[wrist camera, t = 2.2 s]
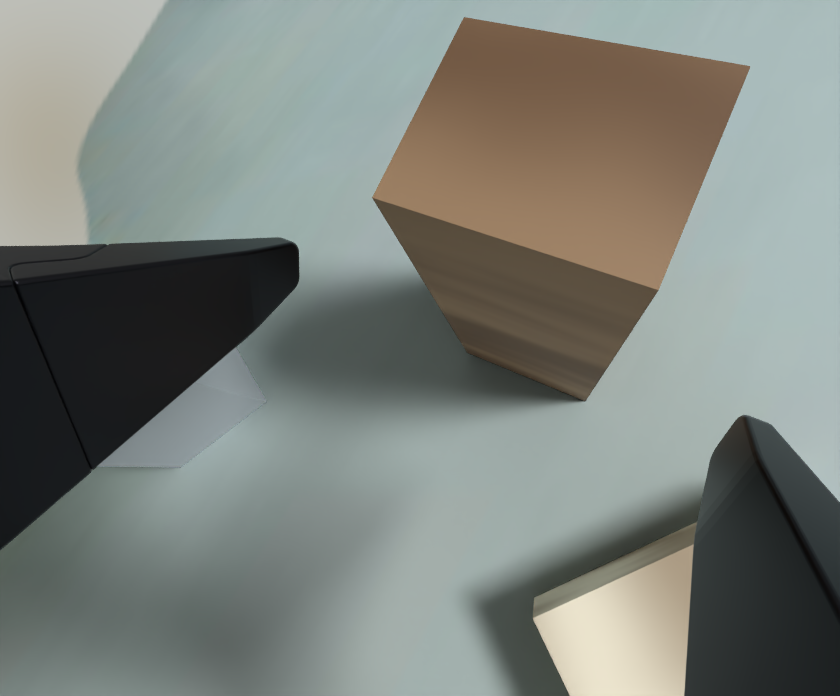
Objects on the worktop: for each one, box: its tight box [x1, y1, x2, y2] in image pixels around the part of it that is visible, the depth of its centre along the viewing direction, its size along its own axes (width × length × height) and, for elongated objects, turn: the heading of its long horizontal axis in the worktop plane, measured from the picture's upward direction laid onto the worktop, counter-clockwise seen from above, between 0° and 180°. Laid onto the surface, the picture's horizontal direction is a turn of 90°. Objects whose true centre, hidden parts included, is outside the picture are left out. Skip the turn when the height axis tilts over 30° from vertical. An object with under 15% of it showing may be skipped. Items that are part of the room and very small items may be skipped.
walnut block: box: [372, 17, 750, 401], centre depth 14 cm, size 4×5×12 cm
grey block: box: [97, 347, 267, 468], centre depth 19 cm, size 5×5×8 cm
